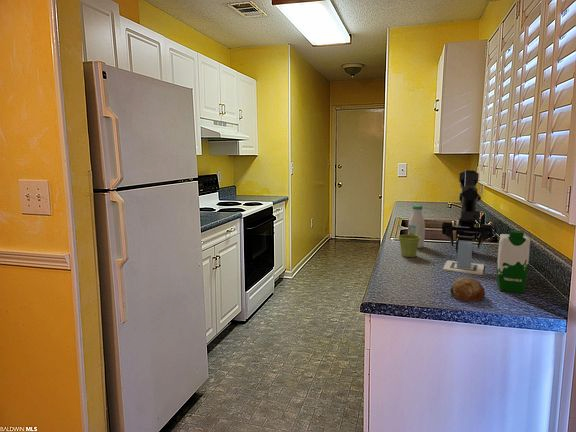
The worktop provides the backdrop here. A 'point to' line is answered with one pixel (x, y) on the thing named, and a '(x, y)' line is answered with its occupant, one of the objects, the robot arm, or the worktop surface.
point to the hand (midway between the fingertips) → (465, 247)
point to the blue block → (464, 254)
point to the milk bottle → (417, 224)
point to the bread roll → (467, 290)
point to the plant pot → (409, 245)
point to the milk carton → (513, 262)
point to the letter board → (474, 268)
